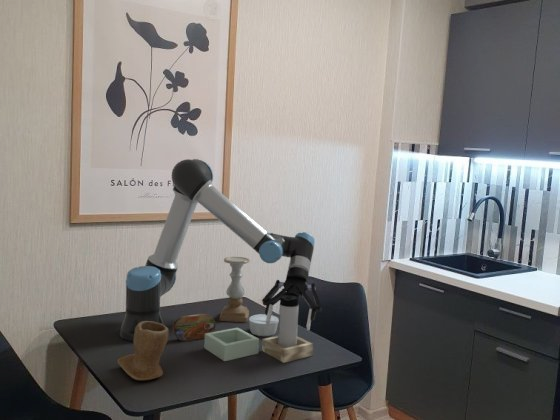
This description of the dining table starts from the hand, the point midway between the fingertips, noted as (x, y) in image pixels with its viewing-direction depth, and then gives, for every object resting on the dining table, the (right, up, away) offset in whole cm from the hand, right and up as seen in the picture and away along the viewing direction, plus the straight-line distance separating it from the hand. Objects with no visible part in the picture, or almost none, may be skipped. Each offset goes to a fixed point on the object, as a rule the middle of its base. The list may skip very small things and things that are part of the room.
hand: (287, 326), depth 169 cm
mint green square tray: (-19, -9, +3) cm, 21 cm away
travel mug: (0, -10, +3) cm, 10 cm away
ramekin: (-9, -8, +23) cm, 25 cm away
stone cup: (-42, -10, -17) cm, 47 cm away
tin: (-33, -7, +13) cm, 36 cm away
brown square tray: (0, -10, +3) cm, 10 cm away
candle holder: (-21, -5, +38) cm, 44 cm away
